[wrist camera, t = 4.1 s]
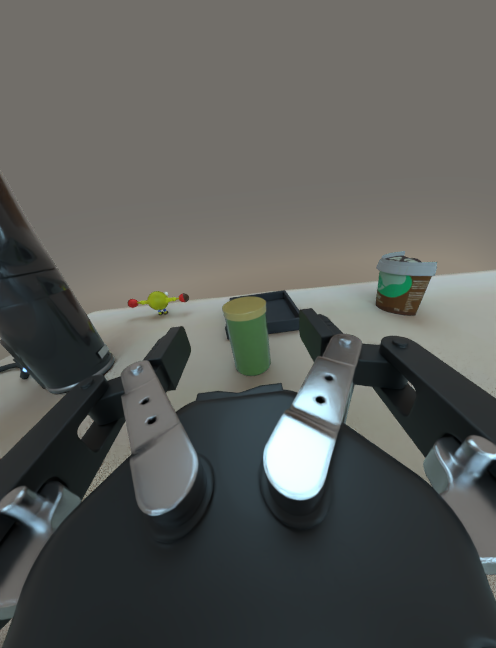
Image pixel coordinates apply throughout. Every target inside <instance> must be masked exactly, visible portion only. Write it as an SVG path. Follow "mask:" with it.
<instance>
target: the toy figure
mask: <svg viewBox="0 0 496 648" xmlns="http://www.w3.org/2000/svg"><path fill="white" fill-rule="evenodd" d="M167 296H168V293H167V292H164V293H163V292H159V291H156V292H153V293H151V294H150V295H149V297H148V300H146V301H141V302H138V301H137V300H135V299H130V300H129V301H128V306H129V307H131V308H133V307H136V306H138V304H142V305H144V304H149V306H150V307H151V308H153V309H155V310H158V313H159V315H162V314H163V312H161V311H160V310H162V309H163V311H164V314H167V313H168V311H166V309H165V308H166V307H167V305H168V302H170V301H176V300H177V299H179V300H180V301H181V302H187V301H188V300H189V296H188V295H187V294H184V293H183V294H181V295H180V296H179V298H175V297H173V298H168V297H167Z"/></svg>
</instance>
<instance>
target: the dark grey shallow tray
mask: <svg viewBox="0 0 496 648" xmlns="http://www.w3.org/2000/svg"><path fill="white" fill-rule="evenodd" d="M241 297H259V298H262V299H264V300H265V301H266V308H267V310H266V316H267V327H268V334H271V333H279V332H287V331H294V330H299V309H298V308H297V307H296V305H295V304H294V302H293V301H292V300H291V298H290V297H289V295H288V294H287V293H286V291H285V290H283V291H276V292H269V293H262V294H255V295H248V296H240V297H233V298H230V301H231V300H234V299H237V298H241ZM225 330H226V335H227V339H229V334H228V330H227V325H226V327H225Z"/></svg>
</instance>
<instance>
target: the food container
mask: <svg viewBox="0 0 496 648" xmlns="http://www.w3.org/2000/svg"><path fill="white" fill-rule="evenodd" d="M404 254H405V251H403V252H395V253H389V254H386V255H383V256H382V258H381V259H380V260H379V263H378V265H377V269H378V270H380V273H379V281H378V289H377V297H376V306H377V307H378V308H380V309H382V310H384V311H387V312H391V313H395V314H401V315H416V312H417V310H418V308H419V305H420V303H421V301H422V298H423V296H424V293H425V291H426V289H427V286H428V284H429V282H430V279H431V277H432V276H435V273H436V269H437V266H436V265H437V262H421V261H420V260H418V259H415V258H408V257H405V256H404Z"/></svg>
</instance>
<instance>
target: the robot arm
mask: <svg viewBox="0 0 496 648" xmlns="http://www.w3.org/2000/svg"><path fill="white" fill-rule="evenodd" d="M56 267H57V266H56V265H55V263H54V262H53V260H52V258H51V257H50V255H49V253H48V252H47V250H46V249H45V247H44V245H43V244H42V242H41V240H40V239H39V237H38V235H37V234H36V232H35V230H34V229H33V227H32V226H31V224H30V222H29V220H28V218H27V217H26V215H25V213H24V212H23V210H22V208H21V206H20V204H19V202H18V200H17V199H16V197H15V195H14V193H13V191H12V189H11V188H10V186H9V184H8V182H7V180H6V178H5V177H4V175H3V173H2V171H1V170H0V337H1V340H0V343H1V345H2V346H3V347H4V348H5V349H6V350H7V351H8V352H9V353H10V354H11V355H12V356H13V357H14V358H15V359H13V360H14V362H15V363H12V364H8V365H5V366H1V367H0V372H2V371H5V370H8V369H11V368H16V367H18V368H20V369H21V374H20V377H21V378H22V379H25V378H27V377H28V376H29V374H30V375H31V376H32V377H33V378H34V379H35V380H36V381H37V382H38V384H39V385H40V386H41V387H42V388H43V389H47V390H48V391H49V392H51V393H54V394H60V393H66V392H68V393H67V394H66V395H65V396H64V397H63V398H62V399H61V400H60V401H59V402H58V403H57V404H56V405H55V406H54V407H53V408H52V409H51V410H50V411H49V412H48V413H47V414H46V415H45V416H44V417H43V418H42V419H41V420H40V421H39V422H38V423H37V424H36V425H35V426H34V427H33V428H32V429H31V430H30V431H29V432H28V433H27V434H26V435H25V436H24V437H23V438H22V439H21V440H20V441H19V442H18V443H17V444H16V445H15V446H14V447H13V448H12V449H11V450H10V451H9V452H8V453H7V454H6V455H5V456H4V457H3V458H2V459H1V460H0V629H1V628H3V627H4V626H5V625H6V624H7V623H8V622H9V621H10V620H11V619H12V618H13V619H12V622H11V625H10V627H9V630H8V633H7V636H6V638H5V641H4V644H3V646H2V648H496V600H495V598H494V595H493V593H492V591H491V588H490V585H489V583H488V580H487V577H486V575H496V398H494V397H493V396H491V395H490V394H489V393H487V392H486V391H484V390H483V389H481V388H480V387H479V386H477V385H476V384H474V383H473V382H471V381H470V380H469V379H467V378H466V377H464V376H463V375H461V374H460V373H459V372H457V371H456V370H454V369H453V368H451V367H450V366H449V365H447V364H446V363H444V362H443V361H441V360H440V359H439V358H437V357H436V356H434V355H433V354H432V353H430V352H429V351H427V350H426V349H424V348H423V347H422V346H420V345H419V344H417V343H416V342H414V341H412V340H410V339H408V338H404V337H399V336H387V337H384V338H383V339H382V340H381V344H380V345H373V344H362V341H361V340H360V339H359V338H358V337H356V336H353V335H349V334H343V333H342V332H341V331H340V330H339V329H338V328H337V327H336V326H335V325H334V324H333V323H332V322H331V321H330V320H329V319H328V318H327V317H326V316H324V315H321V314H318V315H317V314H316V312H315V311H314V310H313V309H312V308H309V309H302V310H300V311H299V332H300V337H301V339H302V341H303V343H304V345H305V347H306V348H307V350H308V352H309V354H310V356H311V358H312V359H313V361H314V364H313V366H312V368H311V369H310V371H309V373H308V375H307V377H306V379H305V381H304V383H303V384H302V386H301V388H300V390H299V392H298V393H297V392H294V391H290V390H283V387H282V383H277V384H269V385H262V386H258V387H255V388H252V389H249V390H246V391H243V392H240V393H234V392H223V391H214V392H206V393H199V394H197V398H196V401H194V402H191V403H189V404H187V405H185V406H184V407H182V408H181V409H179V410H178V411H177V412H175V410H174V409H173V407H172V405H171V403H170V401H169V399H168V397H167V395H166V392H167V391H171V390H176V387H177V385H178V383H179V380H180V378H181V375H182V373H183V370H184V368H185V366H186V363H187V361H188V358H189V356H190V353H191V346H190V343H189V340H188V337H187V334H186V332H185V329H184V327H183V326H180V327H173V328H170V330H169V331H168V332H167V334H166V335H165V336H163V337H162V338H161V339H159V340H158V341H157V343H156V344H155V346H153V348H152V350H150V352H149V353H148V354H147V356H146V357H145V358H144V360H143V361H139V362H136V363H133V364H131V365H130V366H128V367H127V368H126V369H124V370H123V372H122V373H121V377H118V378H115V379H112V380H109V381H107V380H106V378H105V377H104V376H103V374H104V373H106V372H107V371H108V370H109V369H110V368H111V366H112V365H113V363H114V360H115V359H114V357H113V355H112V354H111V353H110V352H109V349H108V347H107V345H106V344H104V342H103V340H102V339H101V337H100V335H99V334H98V332H97V331H96V329H95V327H94V326H93V324H92V323H91V321H90V319H89V318H88V316H87V314H86V313H85V311H84V310H83V308H82V307H81V305H80V303H79V302H78V300H77V298H76V297H75V295H74V293H73V292H72V290H71V289H70V288H69V286H68V284H67V282H66V281H65V279H64V277H63V276H62V274H61V273H60V271H59V269H58V268H56ZM408 381H409V382H410V383H411V384H412V385H413V386H414V388H415V390H416V391H415V390H414V389H413V388H412V387H411V386H410V385H409V384H408V383H407V382H408ZM354 385H363V386H371V387H373V389H374V390H375V391H376V393H377V394H378V395H379V397H380V398H381V399H382V401H383V402H384V403H385V405H386V406H387V407H388V409H389V410H390V411H391V413H392V414H393V415H394V417H395V418H396V419H397V421H398V422H399V423H400V425H401V426H402V427H403V429H404V430H405V431H406V433H407V434H408V435H409V437H410V438H411V439H412V441H413V442H414V443H415V445H416V446H417V447H418V449H419V450H420V451H421V453H422V454H423V455H424V457H425V460H424V463H423V467H424V471H425V474H426V476H427V478H428V479H429V481H430V483H431V485H432V486H431V485H429V484H428V483H427V482H426V481H425V480H424V479H422V478H421V477H420V476H418V475H417V474H416V473H414V472H413V471H412V470H410V469H409V468H407V467H406V466H405V465H403V464H402V463H400V462H399V461H397V460H396V459H395V458H393V457H392V456H390V455H389V454H387V453H386V452H385V451H383V450H382V449H380V448H379V447H377V446H376V445H375V444H373V443H372V442H370V441H369V440H367V439H366V438H365V437H363V436H362V435H360V434H359V433H357V432H356V431H355V430H353V429H352V428H350V427H349V426H347V425H346V419H347V414H348V410H349V406H350V401H351V397H352V393H353V389H354ZM87 415H89V416H90V417H91V418H92V419H93V420H94V422H93V423H92V425H91V426H90V428H89V429H88V430H87V432H86V433H85V435H84V436H83V437H82V439H80V438H79V437H78V435H77V430H78V427H79V425H80V424H81V422H82V421H83V420H84V419H85V417H86V416H87ZM125 421H126V425H127V431H128V436H129V441H130V446H131V452H132V454H131V455H130V456H129V457H128V458H127V459H126V460H125V461H124V462H123V463H122V464H121V465H120V466H119V467H118V468H117V469H116V470H115V471H114V472H113V473H111V474H110V475H109V476H108V477H107V478H106V479H105V480H104V481H103V482H102V483H101V484H100V485H99V486H98V487H97V488H96V489H95V490H94V491H93V492H92V493H91V494H90V495H89V496H87V497H86V498H85V499H84V500H83V501H82V499H83V497H84V495H85V493H86V491H87V490H88V488H89V486H90V484H91V482H92V481H93V479H94V477H95V475H96V473H97V471H98V470H99V468H100V466H101V464H102V462H103V461H104V459H105V457H106V455H107V453H108V451H109V450H110V448H111V446H112V444H113V442H114V441H115V439H116V437H117V435H118V433H119V431H120V430H121V428H122V426H123V424H124V422H125ZM81 501H82V502H81Z"/></svg>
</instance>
